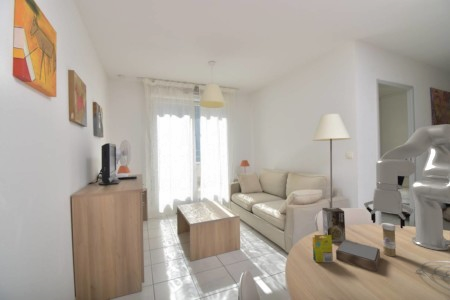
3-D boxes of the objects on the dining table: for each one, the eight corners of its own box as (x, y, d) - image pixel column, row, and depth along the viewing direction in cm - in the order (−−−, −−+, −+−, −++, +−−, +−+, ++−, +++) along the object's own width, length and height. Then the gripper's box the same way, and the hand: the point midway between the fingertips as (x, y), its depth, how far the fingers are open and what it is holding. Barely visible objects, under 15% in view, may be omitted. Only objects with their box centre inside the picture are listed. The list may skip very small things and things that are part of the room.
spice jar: (383, 254, 89) (381, 224, 89) (383, 250, 92) (382, 221, 93) (396, 257, 86) (395, 227, 86) (396, 253, 89) (395, 224, 90)
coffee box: (340, 236, 108) (339, 207, 108) (346, 242, 102) (345, 210, 102) (322, 236, 109) (321, 207, 109) (327, 241, 103) (326, 210, 103)
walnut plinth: (380, 257, 87) (379, 248, 87) (376, 271, 76) (376, 261, 76) (343, 247, 96) (343, 239, 96) (336, 259, 86) (336, 250, 86)
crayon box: (330, 259, 86) (329, 232, 86) (333, 262, 83) (332, 235, 83) (312, 258, 87) (312, 232, 87) (315, 262, 84) (314, 235, 84)
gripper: (412, 188, 86) (413, 227, 86) (365, 184, 98) (365, 218, 98) (413, 190, 81) (414, 232, 80) (362, 185, 93) (363, 222, 92)
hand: (387, 224), depth 89 cm, fingers open, 9 cm apart
